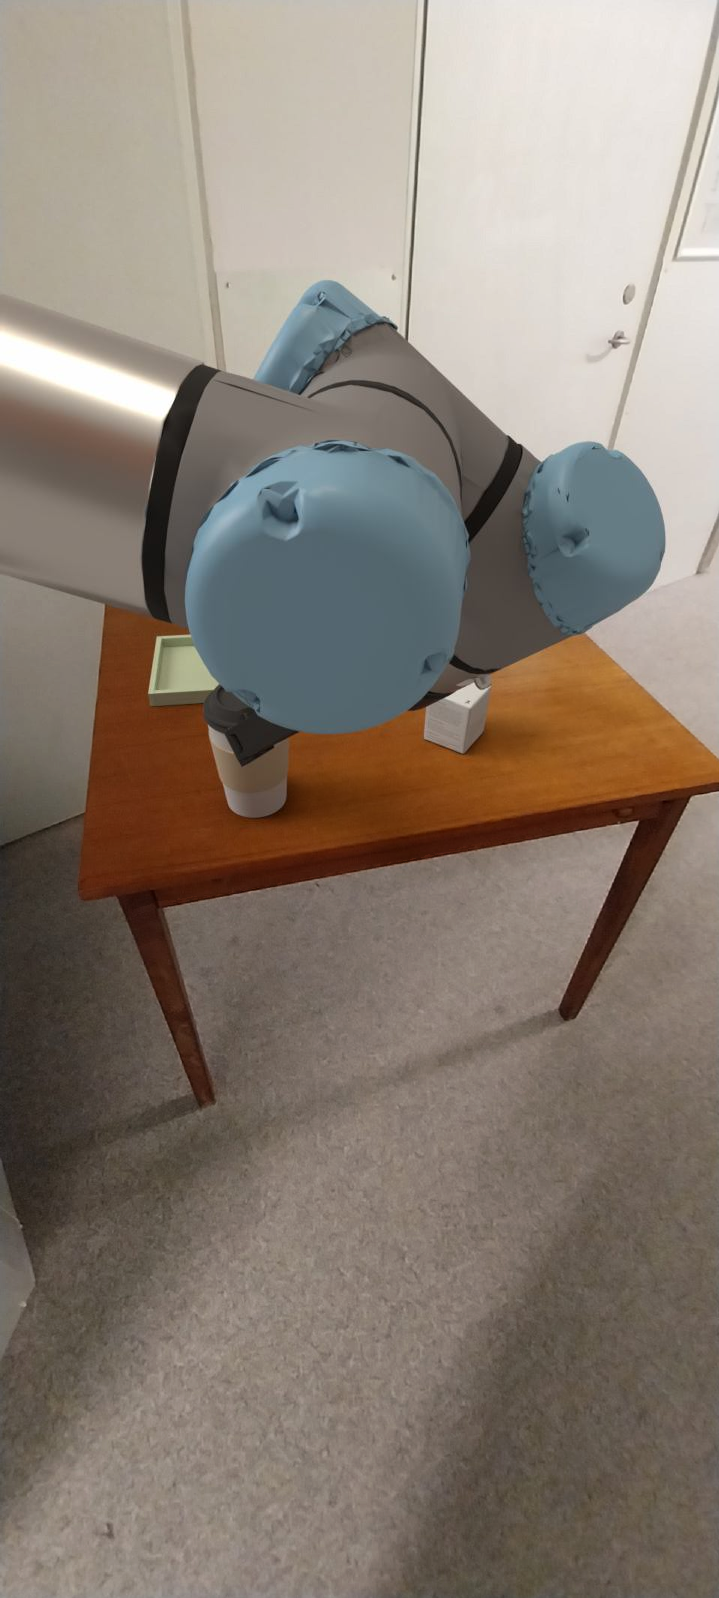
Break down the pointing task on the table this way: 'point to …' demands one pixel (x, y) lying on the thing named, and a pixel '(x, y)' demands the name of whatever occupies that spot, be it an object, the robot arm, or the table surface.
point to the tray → (178, 673)
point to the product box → (457, 718)
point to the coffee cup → (257, 782)
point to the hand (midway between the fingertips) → (301, 722)
